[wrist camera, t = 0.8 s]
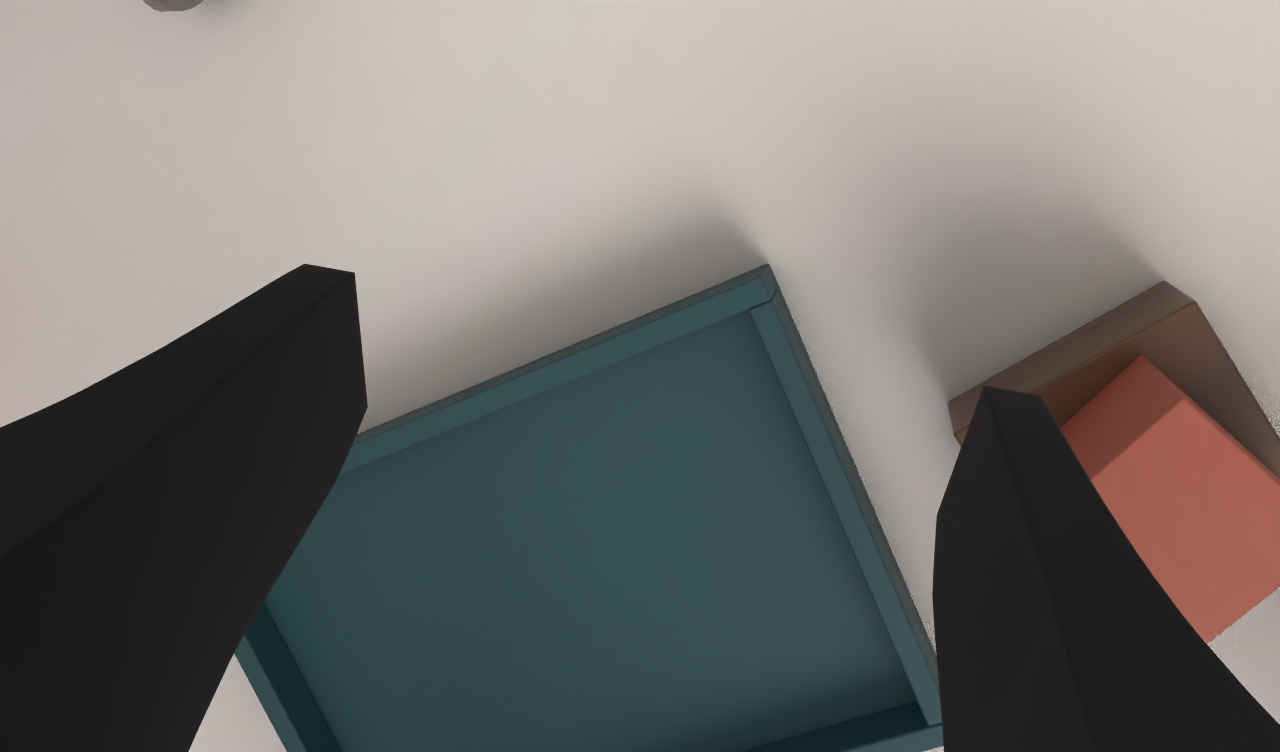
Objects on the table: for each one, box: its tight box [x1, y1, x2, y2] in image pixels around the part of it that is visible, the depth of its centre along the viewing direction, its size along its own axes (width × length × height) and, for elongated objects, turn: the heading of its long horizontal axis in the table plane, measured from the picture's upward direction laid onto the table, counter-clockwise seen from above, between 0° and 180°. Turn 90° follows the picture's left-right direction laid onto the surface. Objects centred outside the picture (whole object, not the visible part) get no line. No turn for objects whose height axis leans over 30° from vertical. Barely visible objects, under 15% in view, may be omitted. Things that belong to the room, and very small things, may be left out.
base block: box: [947, 281, 1280, 479], centre depth 29 cm, size 6×6×3 cm
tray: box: [234, 264, 944, 752], centre depth 34 cm, size 14×20×2 cm
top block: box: [1060, 355, 1280, 644], centre depth 26 cm, size 4×4×4 cm
